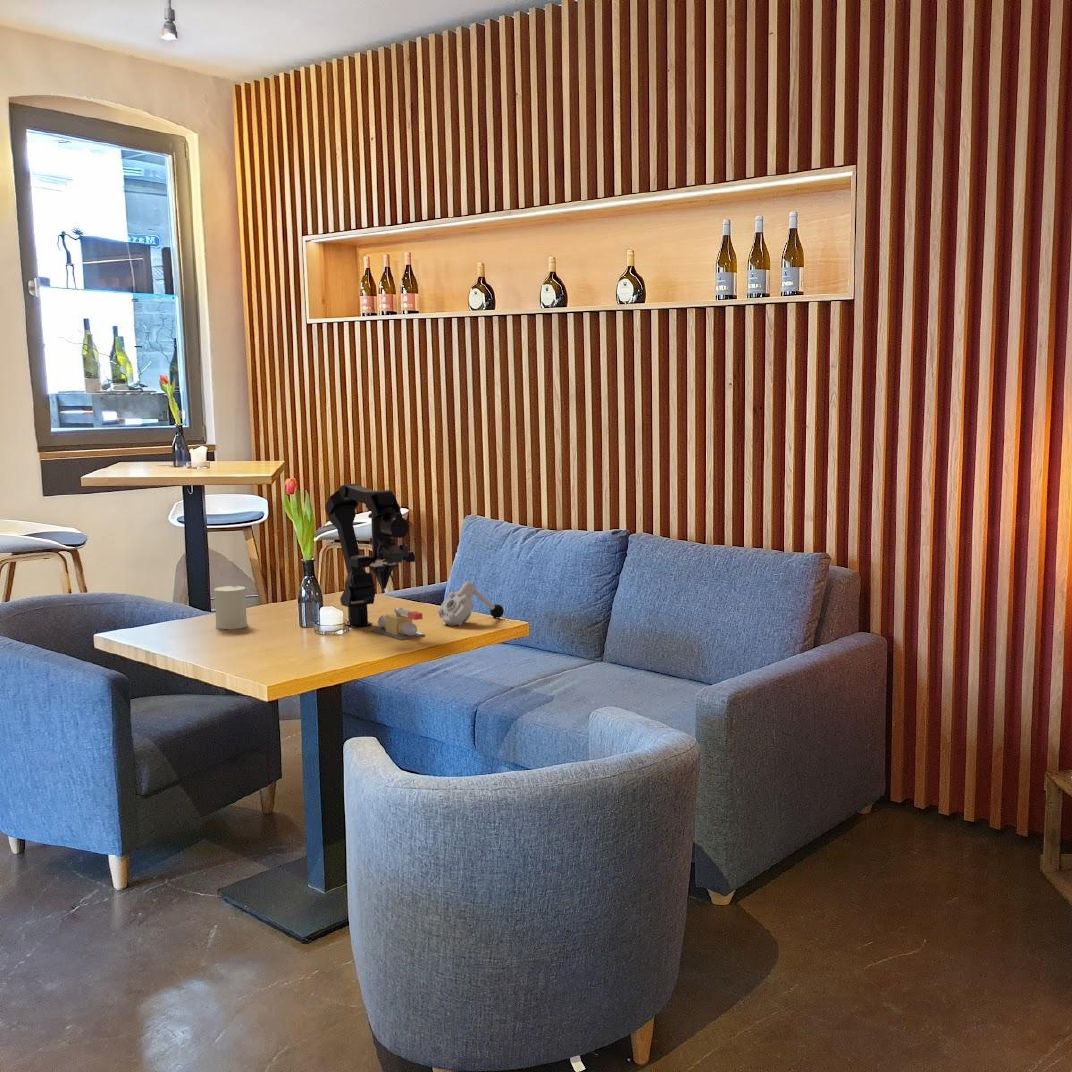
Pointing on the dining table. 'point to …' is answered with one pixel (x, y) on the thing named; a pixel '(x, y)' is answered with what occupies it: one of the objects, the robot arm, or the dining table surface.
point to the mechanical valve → (464, 605)
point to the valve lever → (409, 613)
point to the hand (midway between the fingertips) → (383, 588)
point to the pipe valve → (397, 627)
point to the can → (230, 607)
